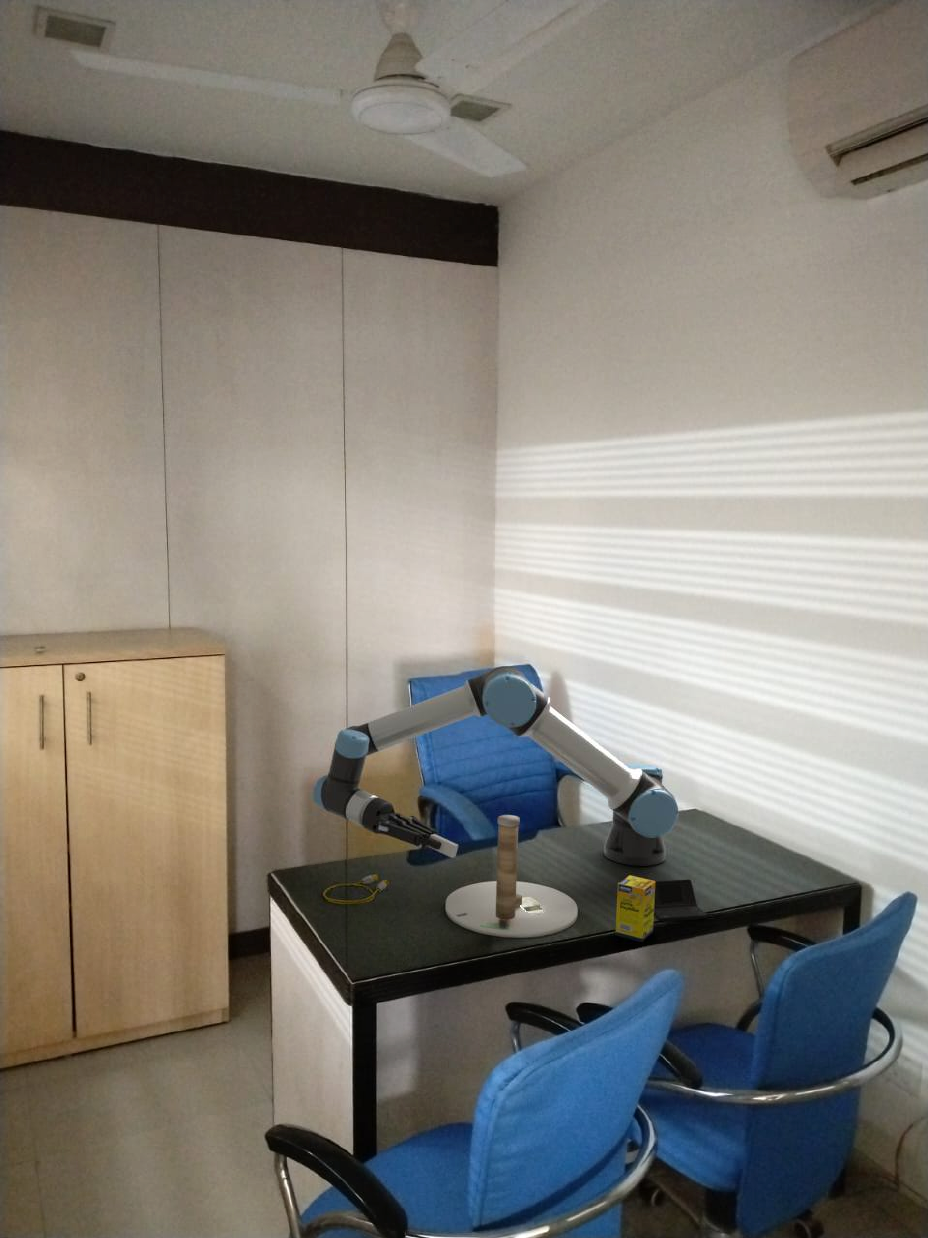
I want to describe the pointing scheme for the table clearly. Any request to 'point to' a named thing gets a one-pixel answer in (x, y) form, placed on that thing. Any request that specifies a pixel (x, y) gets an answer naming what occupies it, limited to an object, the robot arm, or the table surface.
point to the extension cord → (366, 880)
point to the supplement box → (635, 908)
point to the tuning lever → (507, 869)
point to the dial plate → (479, 910)
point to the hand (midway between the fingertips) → (455, 851)
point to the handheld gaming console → (676, 901)
